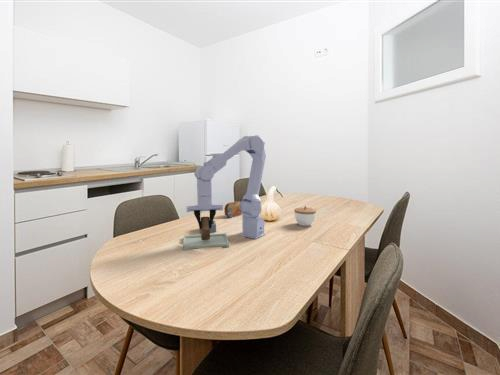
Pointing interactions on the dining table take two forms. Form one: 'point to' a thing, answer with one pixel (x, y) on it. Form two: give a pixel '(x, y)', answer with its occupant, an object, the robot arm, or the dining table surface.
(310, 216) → the lidded jar
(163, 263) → the dining table surface
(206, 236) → the dowel
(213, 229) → the grey square socket
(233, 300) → the dining table surface
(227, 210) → the tin
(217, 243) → the tray
